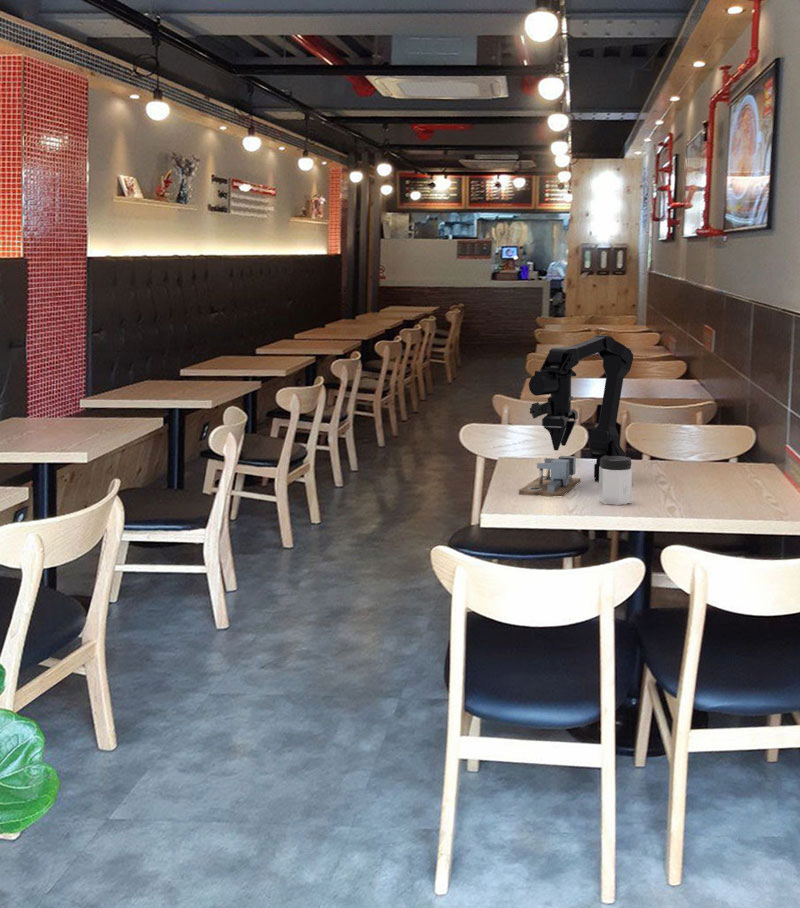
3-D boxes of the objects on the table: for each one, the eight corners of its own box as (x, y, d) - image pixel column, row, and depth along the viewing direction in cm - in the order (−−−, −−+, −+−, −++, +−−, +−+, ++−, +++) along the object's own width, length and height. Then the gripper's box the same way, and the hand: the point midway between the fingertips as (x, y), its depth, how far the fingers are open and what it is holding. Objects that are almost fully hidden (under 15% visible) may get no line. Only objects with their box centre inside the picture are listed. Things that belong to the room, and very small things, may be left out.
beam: (576, 479, 341) (576, 455, 340) (558, 493, 320) (559, 468, 319) (546, 477, 344) (547, 454, 343) (527, 491, 323) (528, 466, 322)
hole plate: (580, 481, 343) (580, 477, 343) (561, 497, 320) (561, 492, 320) (540, 479, 347) (540, 475, 347) (519, 494, 324) (519, 490, 324)
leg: (568, 484, 332) (569, 459, 331) (565, 486, 328) (566, 462, 327) (539, 482, 335) (539, 458, 334) (535, 484, 331) (536, 460, 330)
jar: (613, 506, 307) (614, 461, 305) (591, 501, 314) (593, 457, 312) (637, 502, 312) (639, 458, 310) (616, 497, 318) (617, 454, 317)
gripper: (540, 388, 338) (540, 441, 341) (524, 395, 321) (523, 451, 323) (578, 390, 334) (577, 443, 337) (564, 396, 317) (563, 453, 320)
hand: (559, 447), depth 329 cm, fingers open, 9 cm apart
